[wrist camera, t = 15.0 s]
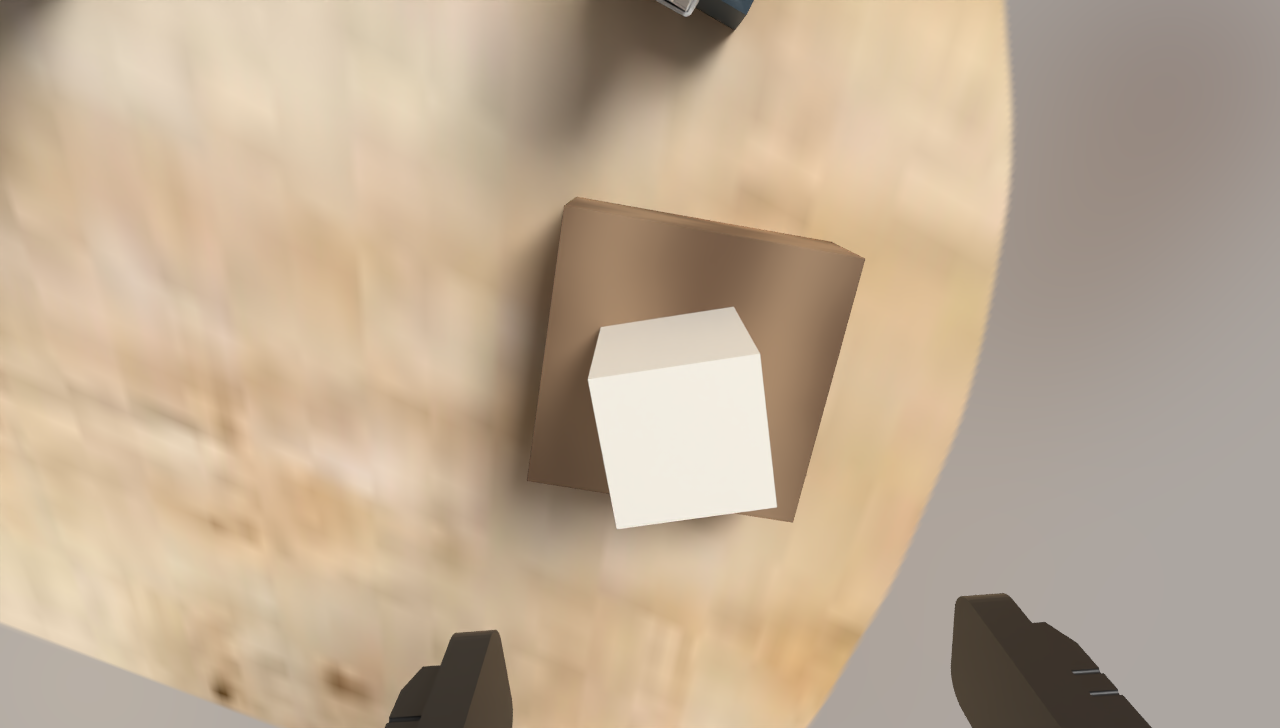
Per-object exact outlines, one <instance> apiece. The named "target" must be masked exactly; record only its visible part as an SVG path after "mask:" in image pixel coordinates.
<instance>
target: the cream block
mask: <svg viewBox="0 0 1280 728" xmlns="http://www.w3.org/2000/svg"><path fill="white" fill-rule="evenodd" d="M588 383H589V388H590V393H591V399H592V404H593V409H594V414H595V419H596V424H597V430H598V435H599V440H600V445H601V450H602V455H603V461H604V466H605V471H606V476H607V481H608V486H609V492H610V497H611V502H612V507H613V512H614V517H615V522H616V528H617V529H622V528H629V527H637V526H644V525H651V524H659V523H666V522H673V521H681V520H688V519H695V518H703V517H710V516H717V515H725V514H732V513H739V512H747V511H754V510H761V509H769V508H776V507H777V503H776V493H775V484H774V475H773V466H772V457H771V448H770V439H769V430H768V421H767V412H766V403H765V394H764V385H763V376H762V367H761V358H760V353H759V351H758V349H757V347H756V345H755V344H754V342H753V340H752V338H751V337H750V335H749V333H748V331H747V329H746V328H745V326H744V324H743V322H742V321H741V319H740V317H739V315H738V313H737V312H736V310H735V308H734V307H728V308H722V309H715V310H709V311H702V312H696V313H689V314H683V315H676V316H670V317H663V318H657V319H650V320H644V321H637V322H631V323H624V324H618V325H611V326H605V327H601V328H600V332H599V336H598V340H597V344H596V348H595V352H594V356H593V360H592V364H591V368H590V372H589V376H588Z"/></svg>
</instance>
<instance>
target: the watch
mask: <svg viewBox="0 0 1280 728" xmlns="http://www.w3.org/2000/svg"><path fill="white" fill-rule="evenodd" d="M656 1H657V2H659V3H661V4H663V5H665V6H666V7H668V8H670V9H672V10H673V11H675V12H677V13H679V14H681V15H683V16H684V17H687V16H690V15H691V14H692V12H693V11H694V9H695V8H697V9H699V10H701V11H702V12H704V13H706V14H707V15H709V16H711V17H713V18H714V19H716V20H718V21H720V22H721V23H723V24H725V25H726V26H728V27H730V28H732V29H733V30H735V29H736V28H737V27H738V25H739V24H740V23H741V21H742V20H743V19H744V17H745V16H746V15H747V13H748V11H749V9H750V7H751V5H752V3H753V1H754V0H656Z"/></svg>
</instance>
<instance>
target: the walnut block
mask: <svg viewBox="0 0 1280 728" xmlns="http://www.w3.org/2000/svg"><path fill="white" fill-rule="evenodd" d="M864 261H865V258H863V257H861V256H859V255H857V254H855V253H853V252H851V251H849V250H847V249H845V248H843V247H840V246H838V245H836V244H834V243H832V242H829V241H823V240H817V239H812V238H806V237H800V236H795V235H789V234H783V233H778V232H772V231H767V230H761V229H755V228H750V227H744V226H738V225H733V224H727V223H721V222H716V221H710V220H704V219H699V218H693V217H687V216H682V215H676V214H670V213H665V212H659V211H653V210H648V209H642V208H637V207H631V206H625V205H620V204H614V203H608V202H603V201H597V200H591V199H586V198H580V197H576V198H574V199H573V200H572V201H570V202H569V203H567V204H566V205H564V211H563V218H562V226H561V233H560V240H559V248H558V255H557V263H556V270H555V277H554V285H553V292H552V300H551V307H550V314H549V322H548V329H547V337H546V344H545V352H544V359H543V366H542V374H541V381H540V389H539V396H538V403H537V411H536V418H535V426H534V433H533V441H532V448H531V455H530V463H529V470H528V478H527V481H531V482H538V483H544V484H550V485H557V486H563V487H570V488H576V489H582V490H589V491H595V492H601V493H608V494H610V492H609V486H608V481H607V476H606V471H605V466H604V461H603V455H602V450H601V445H600V440H599V435H598V430H597V424H596V419H595V414H594V409H593V404H592V399H591V393H590V388H589V383H588V376H589V372H590V368H591V364H592V360H593V356H594V352H595V348H596V344H597V340H598V336H599V332H600V328H601V327H605V326H611V325H618V324H624V323H631V322H637V321H644V320H650V319H657V318H663V317H670V316H676V315H683V314H689V313H696V312H702V311H709V310H715V309H722V308H728V307H734V308H735V310H736V312H737V313H738V315H739V317H740V319H741V321H742V322H743V324H744V326H745V328H746V329H747V331H748V333H749V335H750V337H751V338H752V340H753V342H754V344H755V345H756V347H757V349H758V351H759V353H760V358H761V367H762V376H763V385H764V394H765V403H766V412H767V421H768V430H769V439H770V448H771V457H772V466H773V475H774V484H775V493H776V503H777V507H776V508H769V509H761V510H754V511H747V512H739V513H735V514H742V515H748V516H754V517H761V518H767V519H774V520H780V521H786V522H793V520H794V517H795V513H796V509H797V506H798V502H799V498H800V495H801V491H802V487H803V484H804V480H805V477H806V473H807V469H808V466H809V462H810V458H811V455H812V451H813V447H814V444H815V440H816V436H817V433H818V429H819V425H820V422H821V418H822V415H823V411H824V407H825V404H826V400H827V396H828V393H829V389H830V385H831V382H832V378H833V374H834V371H835V367H836V364H837V360H838V356H839V353H840V349H841V345H842V342H843V338H844V334H845V331H846V327H847V323H848V320H849V316H850V312H851V309H852V305H853V302H854V298H855V294H856V291H857V287H858V283H859V280H860V276H861V272H862V269H863V265H864Z"/></svg>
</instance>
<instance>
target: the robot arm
mask: <svg viewBox="0 0 1280 728" xmlns="http://www.w3.org/2000/svg"><path fill="white" fill-rule="evenodd" d="M951 676H952V682H953V687H954V691H955V694H956V697H957V700H958V702H959V705H960V707H961V709H962V710H963V712H964V714H965V716H966V717H967V719H968V721H969V723H970V724H971V726H972V728H1151V726H1150V725H1149V724H1148V723H1147V722H1146V721H1145V720H1144V718H1142V716H1141V715H1140V714H1139V713H1138V712H1137V711H1136V709H1135V708H1134V707H1133V706H1132V705H1131V704H1130V703H1129V702H1128V700H1127V699H1126V698H1125V697H1124V696H1123V695H1119V693H1118V689H1117V688H1116V687H1115V686H1114V684H1112V682H1111V681H1110V680H1109V679H1108V678H1107V677H1106V675H1105V674H1104V673H1103V674H1101V673H1100V671H1099V667H1098V666H1097V665H1096V664H1095V663H1094V662H1093V661H1092V660H1091V658H1090V657H1089V656H1088V655H1087V654H1086V653H1085V652H1084V651H1083V649H1082V648H1081V647H1080V646H1079V645H1078V644H1077V643H1076V642H1075V641H1073V640H1072V639H1070V638H1069V637H1067V636H1065V635H1064V634H1062V633H1061V632H1059V631H1058V630H1056V629H1055V628H1053V627H1052V626H1050V625H1048V624H1047V623H1046V622H1040V623H1032V622H1031V621H1030V620H1029V619H1028V618H1027V616H1026V615H1025V614H1024V613H1023V612H1022V611H1021V609H1020V608H1019V607H1018V606H1017V604H1016V603H1015V602H1014V601H1013V599H1012V598H1011V597H1010V596H1008V595H1007V594H1004V593H1000V594H986V595H973V596H961V597H959V598H958V599H957V601H956V604H955V614H954V628H953V644H952V658H951ZM512 722H513V708H512V698H511V692H510V686H509V681H508V676H507V670H506V665H505V659H504V654H503V648H502V643H501V638H500V635H499V633H498V631H497V630H489V631H476V632H463V633H455V634H453V636H452V637H451V639H450V642H449V645H448V647H447V650H446V652H445V655H444V658H443V660H442V663H441V665H440V666H426V667H422V668H421V669H420V670H419V672H418V673H417V674H416V675H415V676H414V677H413V678H412V679H411V680H410V681H409V682H408V684H407V685H406V686H405V687H404V688H403V689H402V690H401V692H400V694H399V696H398V699H397V701H396V703H395V705H394V708H393V710H392V712H391V715H390V717H389V723H387V724H386V726H385V728H512Z"/></svg>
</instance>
